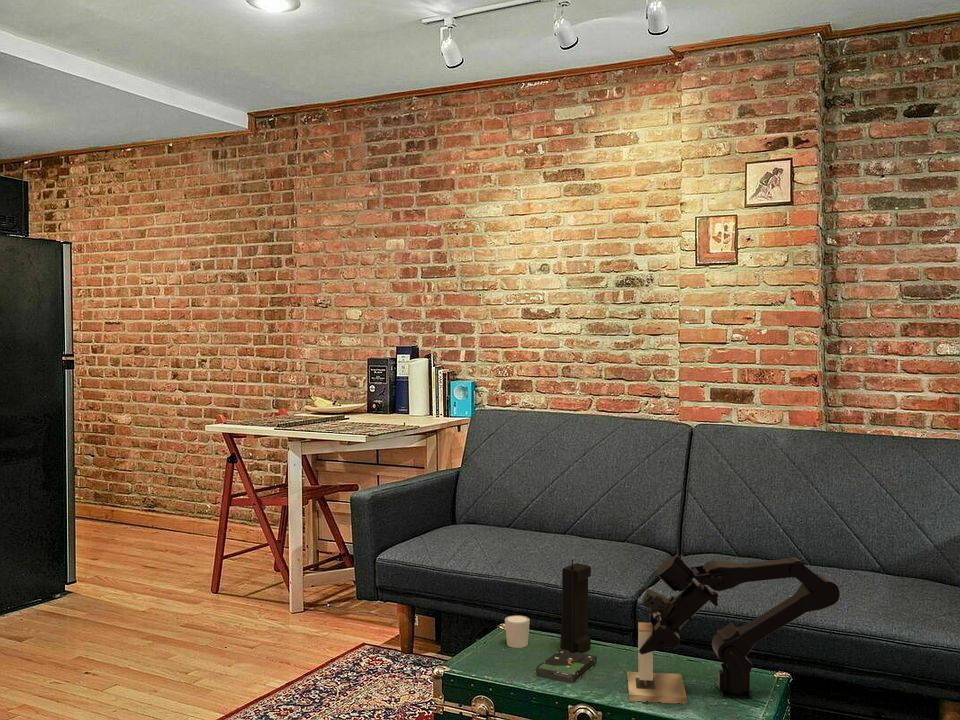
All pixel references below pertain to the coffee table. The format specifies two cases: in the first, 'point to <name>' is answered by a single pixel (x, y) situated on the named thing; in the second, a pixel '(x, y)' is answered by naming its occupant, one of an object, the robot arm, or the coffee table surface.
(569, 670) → the disk drive
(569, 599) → the dark tower with antenna
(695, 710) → the coffee table surface
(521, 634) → the white cup
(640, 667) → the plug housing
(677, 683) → the header board
